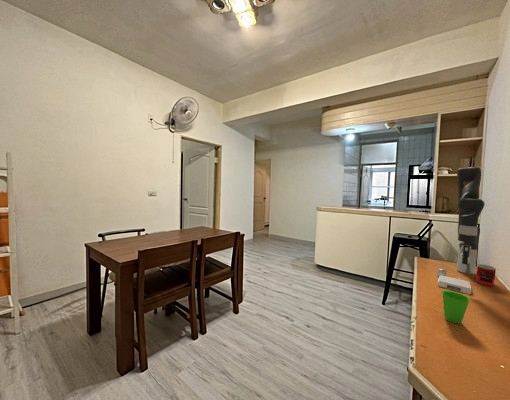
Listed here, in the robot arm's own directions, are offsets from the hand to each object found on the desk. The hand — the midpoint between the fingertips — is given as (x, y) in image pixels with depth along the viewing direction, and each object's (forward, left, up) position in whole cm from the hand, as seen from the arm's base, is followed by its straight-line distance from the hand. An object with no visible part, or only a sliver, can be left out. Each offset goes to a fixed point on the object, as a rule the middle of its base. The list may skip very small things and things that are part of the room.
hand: (464, 262), depth 125 cm
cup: (+49, -3, -15) cm, 52 cm away
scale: (0, -3, -15) cm, 15 cm away
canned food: (-21, +11, -15) cm, 28 cm away
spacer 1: (-13, -9, -15) cm, 22 cm away
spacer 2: (0, 0, 0) cm, 0 cm away
